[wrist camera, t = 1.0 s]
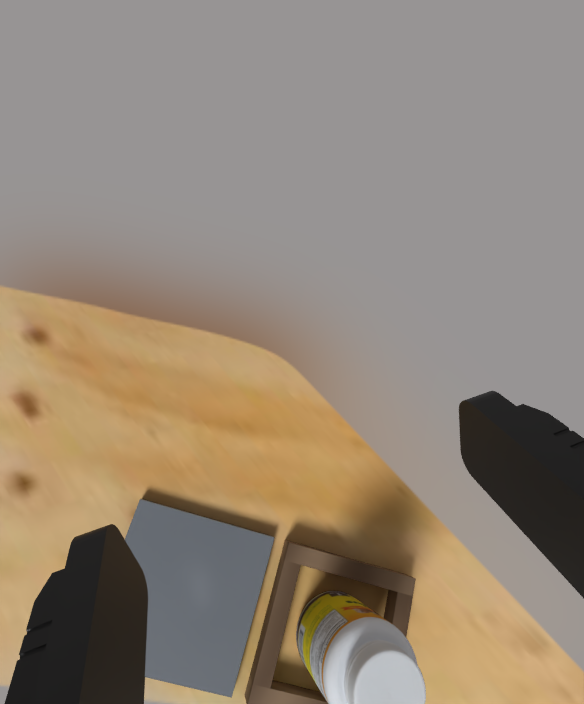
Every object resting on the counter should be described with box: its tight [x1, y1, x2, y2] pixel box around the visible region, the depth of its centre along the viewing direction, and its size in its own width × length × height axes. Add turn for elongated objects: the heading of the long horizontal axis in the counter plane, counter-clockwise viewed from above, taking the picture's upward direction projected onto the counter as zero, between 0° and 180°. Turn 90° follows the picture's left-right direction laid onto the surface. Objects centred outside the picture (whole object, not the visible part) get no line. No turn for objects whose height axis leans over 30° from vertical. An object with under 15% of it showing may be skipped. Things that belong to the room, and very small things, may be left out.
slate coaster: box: [125, 499, 274, 697], centre depth 30 cm, size 10×10×1 cm
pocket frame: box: [245, 540, 415, 704], centre depth 31 cm, size 10×10×2 cm
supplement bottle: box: [296, 591, 426, 704], centre depth 27 cm, size 6×6×10 cm
